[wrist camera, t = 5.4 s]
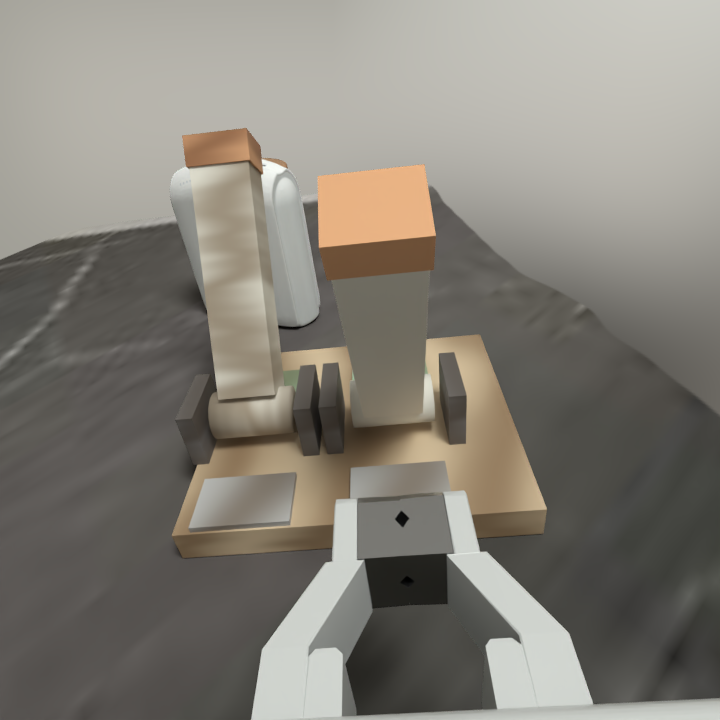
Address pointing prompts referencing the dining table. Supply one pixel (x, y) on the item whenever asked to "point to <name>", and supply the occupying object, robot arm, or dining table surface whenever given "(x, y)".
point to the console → (317, 402)
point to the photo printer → (284, 236)
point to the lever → (381, 287)
